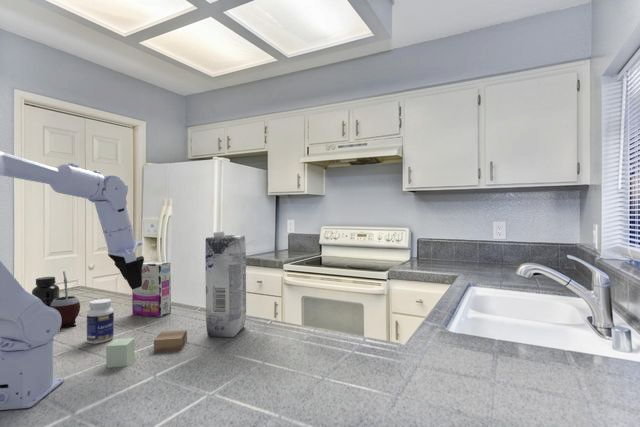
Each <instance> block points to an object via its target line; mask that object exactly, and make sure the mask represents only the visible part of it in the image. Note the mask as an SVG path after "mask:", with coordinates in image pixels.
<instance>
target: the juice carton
mask: <svg viewBox="0 0 640 427" xmlns="http://www.w3.org/2000/svg"><path fill="white" fill-rule="evenodd" d="M212 234H213V236H212V237H210V236H209V237H208V236H207V237H205V253H204V254H205V255H204V256H205V257H204V258H205V260H204V261H205V325H206V333H207V334H206V335H207V336H208V337H212V338H213V337H215V338H219V337H220V338H224V337H225V338H233V337H235V336H236V335H237V334H238V333H239V332H240V331H241V330H242V329H244V327H245V325H246V320H247V319H246V318H247V255H246V254H247V252H246V236H245V235H241V234H240V235H239V234H237V235H235V234H230V235H229V234H228V235H227V234H226V235H225V231H224V230H223V231H215V232H212Z"/></svg>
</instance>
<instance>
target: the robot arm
mask: <svg viewBox="0 0 640 427" xmlns="http://www.w3.org/2000/svg"><path fill="white" fill-rule="evenodd" d="M0 176H3V177H8V178H14V179H19V180H25V181H30V182H35V183H41V184H46V185H49V186H50V187H51V188H52V190H53V191H54V192H55V193H58V194H63V195H68V196H73V197H76V198H83V199H87V200H88V201H89V202H91V203H94V206H95V210H96V212H97V215H98V220H99V224H100V226H101V230H102V233H103V236H104V239H105V244H106V245H107V246H106V247H107V253H108V254H107V256H108V257H109V258H110V259H111V260H112V261H113V262H114V265H115V267H116V268H117V269H118V270H119V272H120V274H121V276H122V277H123V279H124V280H125V281H126V282H127V284H128V286H129V287H130V289H131V290H132V289H136V288H138V287H141V286H142V265H143V262H145V257H144V256H143V255H140V256H136V251H137V250H138V247H140V246H142V245H143V241H142V240H138V241H137V240H136V237H135V233H134V229H133V226H132V222H131V219H130V214H129V210H128V207H127V204H128V202H127V195H128V193H129V187H128V185H126V183H125V182H124V181H123V179H121V178H120V177H119V176H116V175H103V174H102V172H101V171H99V170H93V171H91V170H87V169H83V168H80V167H79V164H77V163H73V162H69V163H67V164H65V163H64V164H60V165H59V166H56V167H53V166H50V165H47V164H43V163H40V162H37V161H35V160H34V161H33V160H30V159H27V158H24V157H20V156H17V155H14V154H10V153H7V152H4V151H0ZM61 324H62V318H61V315H60V313H59V312H58V311H57V310H56V309H54V308H51V307H48V306H46V305H45V304H44V303H43V302H42V301H41V300H40V299H39V298H37V297H36V296H34V295H32V292H31V293H30V292H29V291H27V290H26V289H25V288H24V287H23V286H22V285H21V284H20V281H18V279H17V278H15V277H14V275H13V274H12V273H11V272H10V270H9V269H8V267H7V266H5V263H3V261H1V260H0V411H7V410H18V409H28V408H29V409H30V408H31V407H33V406H34V405H36V404H37V403H38V402H39V401H41V400H42V399H43V398H45V397H46V396H47V395H48V394H49V393H50V392H53V390H55V389H56V388H57V387H58V386H60V385H61V384H62V383H64V382H65V378H64V377H60V378H59V377H58V378H56V377H55V378H54V346H53V345H54V341H55V339H54V338H55V336H57V334H58V332H59V331H60V329H61V328H60V327H61Z"/></svg>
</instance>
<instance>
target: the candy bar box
mask: <svg viewBox="0 0 640 427" xmlns="http://www.w3.org/2000/svg"><path fill="white" fill-rule="evenodd" d="M131 290H132V294H131V297H132V302H131V304H132V306H131V307H132V315H133V316H134V315H135V316H141V317H142V316H144V317H154V318H155V317H156V318H162V317H165V316H167V315H169V314H172V313H171V312H172V309H171V308H172V307H171V306H172V305H171V304H172V303H171V299H172V298H171V297H172V296H171V295H172V294H171V292H172V291H171V262H162V261H161V262H160V261H159V262H157V261H156V262H155V261H154V262H153V261H151V262H150V261H144V262H143V265H142V286H141V287H138V288H136V289H131Z"/></svg>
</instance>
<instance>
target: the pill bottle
mask: <svg viewBox="0 0 640 427" xmlns="http://www.w3.org/2000/svg"><path fill="white" fill-rule="evenodd" d="M111 305H112V299H110V298H103V299H102V298H101V299H100V298H99V299H95V300H91V301H89V303H88V306H89V309H90V310H89V311H88V312H87V314H86V341H87V343H88V344H92V345H93V344H95V345H97V344H103V343H106V342H108V341H112V339H113V338H114V328H115V326H114V322H115V321H114V319H115V318H114V315H115V314H114V309H113V308H112V307H111Z"/></svg>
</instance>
